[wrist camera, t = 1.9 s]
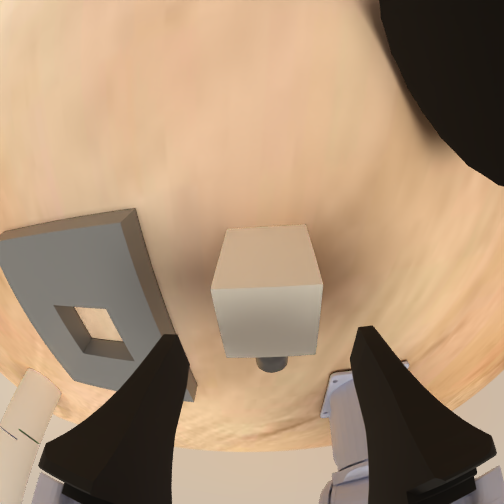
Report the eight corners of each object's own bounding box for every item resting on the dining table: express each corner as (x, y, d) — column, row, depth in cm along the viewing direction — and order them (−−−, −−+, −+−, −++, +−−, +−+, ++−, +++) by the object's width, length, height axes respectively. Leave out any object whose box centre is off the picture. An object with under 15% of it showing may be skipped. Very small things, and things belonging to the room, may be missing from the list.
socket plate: (197, 385, 24) (194, 401, 22) (80, 368, 25) (74, 380, 23) (135, 208, 15) (120, 222, 13) (4, 231, 16) (-10, 242, 14)
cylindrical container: (24, 362, 28) (-29, 481, 6) (60, 385, 29) (13, 512, 8) (30, 379, 31) (-13, 484, 10) (62, 399, 33) (23, 510, 11)
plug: (303, 309, 18) (312, 375, 14) (239, 312, 19) (231, 378, 14) (305, 224, 15) (323, 284, 10) (227, 228, 15) (210, 289, 11)
